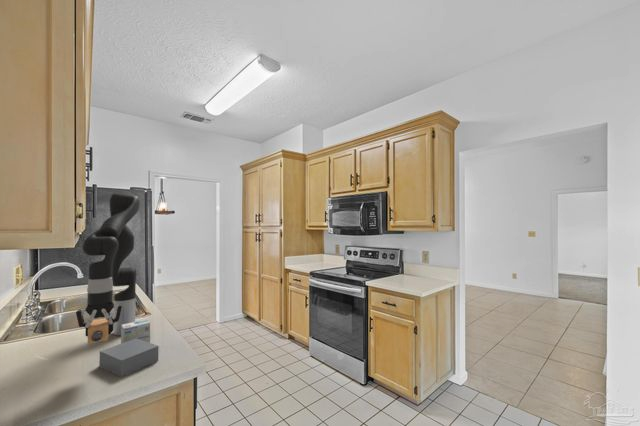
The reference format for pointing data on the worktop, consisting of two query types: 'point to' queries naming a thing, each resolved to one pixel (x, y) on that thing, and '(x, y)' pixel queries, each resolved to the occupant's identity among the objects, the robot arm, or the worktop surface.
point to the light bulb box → (136, 331)
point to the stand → (128, 356)
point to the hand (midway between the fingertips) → (99, 335)
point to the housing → (98, 331)
